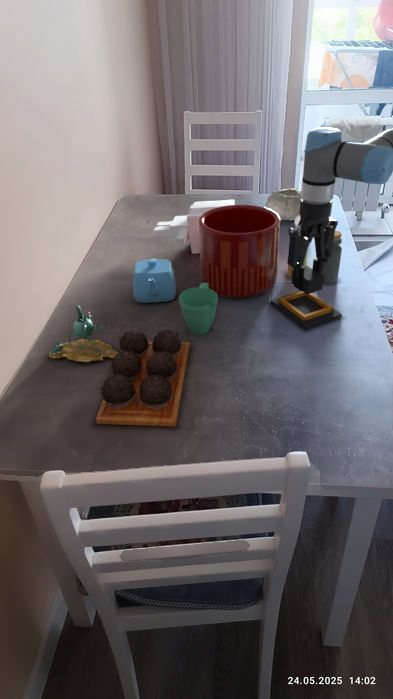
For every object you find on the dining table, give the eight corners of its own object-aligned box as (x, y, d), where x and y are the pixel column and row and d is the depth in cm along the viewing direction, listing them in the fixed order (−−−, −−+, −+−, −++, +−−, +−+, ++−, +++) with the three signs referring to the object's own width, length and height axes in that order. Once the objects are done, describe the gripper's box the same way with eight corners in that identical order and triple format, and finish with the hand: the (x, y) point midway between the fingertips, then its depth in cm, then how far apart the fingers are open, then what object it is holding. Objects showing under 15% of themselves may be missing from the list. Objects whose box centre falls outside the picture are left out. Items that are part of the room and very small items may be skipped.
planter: (251, 259, 160) (253, 199, 148) (291, 288, 143) (297, 223, 131) (188, 275, 152) (185, 213, 140) (222, 308, 135) (222, 240, 123)
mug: (215, 341, 122) (214, 307, 116) (177, 338, 124) (174, 305, 118) (223, 311, 134) (223, 279, 128) (188, 309, 136) (186, 277, 130)
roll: (297, 240, 171) (299, 225, 167) (293, 227, 180) (294, 213, 177) (315, 240, 170) (316, 225, 167) (309, 227, 180) (311, 212, 177)
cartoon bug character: (59, 340, 126) (53, 290, 117) (125, 351, 124) (124, 301, 115) (43, 361, 118) (35, 310, 109) (113, 374, 116) (111, 322, 108)
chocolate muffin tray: (176, 427, 98) (173, 396, 93) (96, 424, 100) (89, 394, 95) (189, 347, 121) (187, 318, 116) (124, 346, 122) (120, 318, 117)
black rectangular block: (322, 289, 127) (324, 276, 125) (306, 294, 125) (308, 280, 123) (305, 279, 132) (307, 265, 130) (290, 283, 130) (292, 270, 128)
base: (341, 317, 129) (342, 310, 128) (305, 330, 125) (305, 322, 123) (304, 292, 141) (305, 285, 139) (270, 303, 137) (270, 296, 135)
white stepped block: (167, 235, 184) (240, 231, 178) (151, 263, 165) (232, 261, 159) (161, 196, 176) (237, 192, 170) (143, 222, 156) (229, 217, 150)
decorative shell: (317, 222, 183) (320, 196, 177) (273, 228, 181) (274, 202, 175) (299, 207, 198) (301, 182, 192) (258, 212, 195) (259, 187, 189)
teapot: (132, 315, 134) (127, 278, 128) (136, 284, 149) (132, 250, 142) (176, 313, 134) (173, 276, 128) (176, 282, 149) (174, 248, 142)
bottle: (314, 281, 146) (319, 234, 137) (322, 273, 150) (327, 227, 141) (332, 286, 143) (339, 238, 134) (340, 278, 147) (347, 231, 138)
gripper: (335, 188, 121) (324, 272, 134) (275, 201, 114) (270, 288, 128) (356, 197, 115) (342, 283, 129) (294, 211, 109) (287, 300, 123)
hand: (306, 285), depth 128 cm, fingers closed on black rectangular block, 5 cm apart
